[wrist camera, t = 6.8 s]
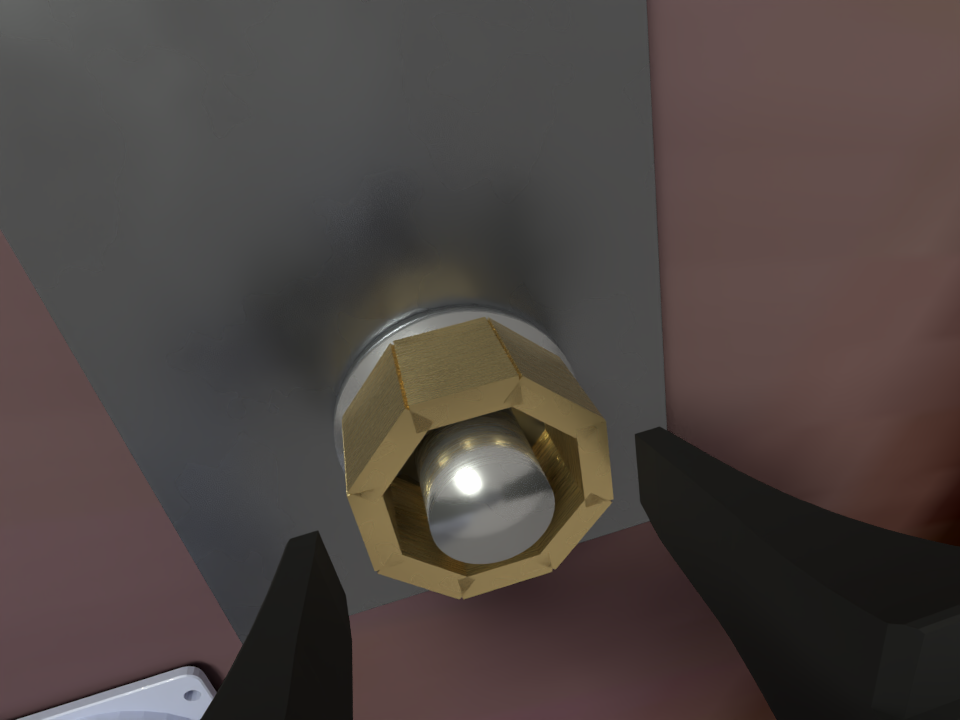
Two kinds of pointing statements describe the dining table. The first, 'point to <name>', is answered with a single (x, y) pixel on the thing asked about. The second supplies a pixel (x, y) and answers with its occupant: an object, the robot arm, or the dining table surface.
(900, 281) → the dining table surface
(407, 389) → the ring
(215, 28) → the block
